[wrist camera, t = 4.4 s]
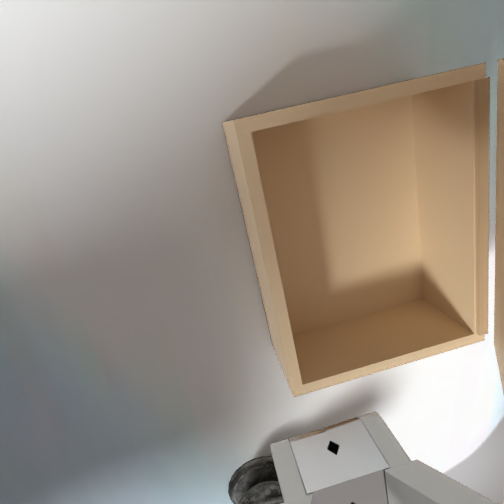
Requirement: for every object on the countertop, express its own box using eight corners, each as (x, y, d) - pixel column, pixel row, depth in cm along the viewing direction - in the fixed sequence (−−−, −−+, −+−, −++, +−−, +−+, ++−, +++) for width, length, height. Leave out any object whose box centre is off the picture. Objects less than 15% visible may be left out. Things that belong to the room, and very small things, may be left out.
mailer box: (428, 301, 25) (487, 342, 20) (272, 345, 24) (294, 400, 19) (416, 78, 20) (489, 61, 15) (222, 122, 19) (234, 119, 14)
